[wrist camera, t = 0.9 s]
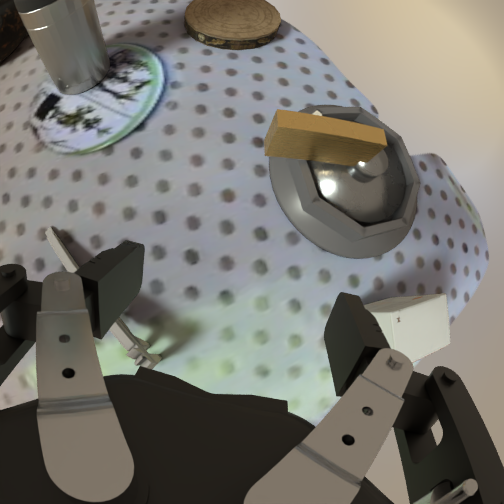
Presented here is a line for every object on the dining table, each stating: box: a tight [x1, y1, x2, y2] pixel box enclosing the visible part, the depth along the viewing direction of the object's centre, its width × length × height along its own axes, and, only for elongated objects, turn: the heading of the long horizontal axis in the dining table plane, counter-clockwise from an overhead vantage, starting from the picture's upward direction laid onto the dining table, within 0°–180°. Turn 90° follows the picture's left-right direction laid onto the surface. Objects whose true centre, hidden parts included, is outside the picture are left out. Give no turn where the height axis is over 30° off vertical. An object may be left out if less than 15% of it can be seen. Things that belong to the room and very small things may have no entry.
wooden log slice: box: [185, 0, 281, 50], centre depth 37 cm, size 16×16×3 cm
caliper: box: [45, 227, 162, 369], centre depth 26 cm, size 20×1×6 cm, turn 46°
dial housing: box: [269, 105, 420, 259], centre depth 35 cm, size 22×22×4 cm
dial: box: [264, 109, 405, 225], centre depth 31 cm, size 20×14×9 cm
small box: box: [364, 293, 450, 363], centre depth 29 cm, size 8×6×10 cm
